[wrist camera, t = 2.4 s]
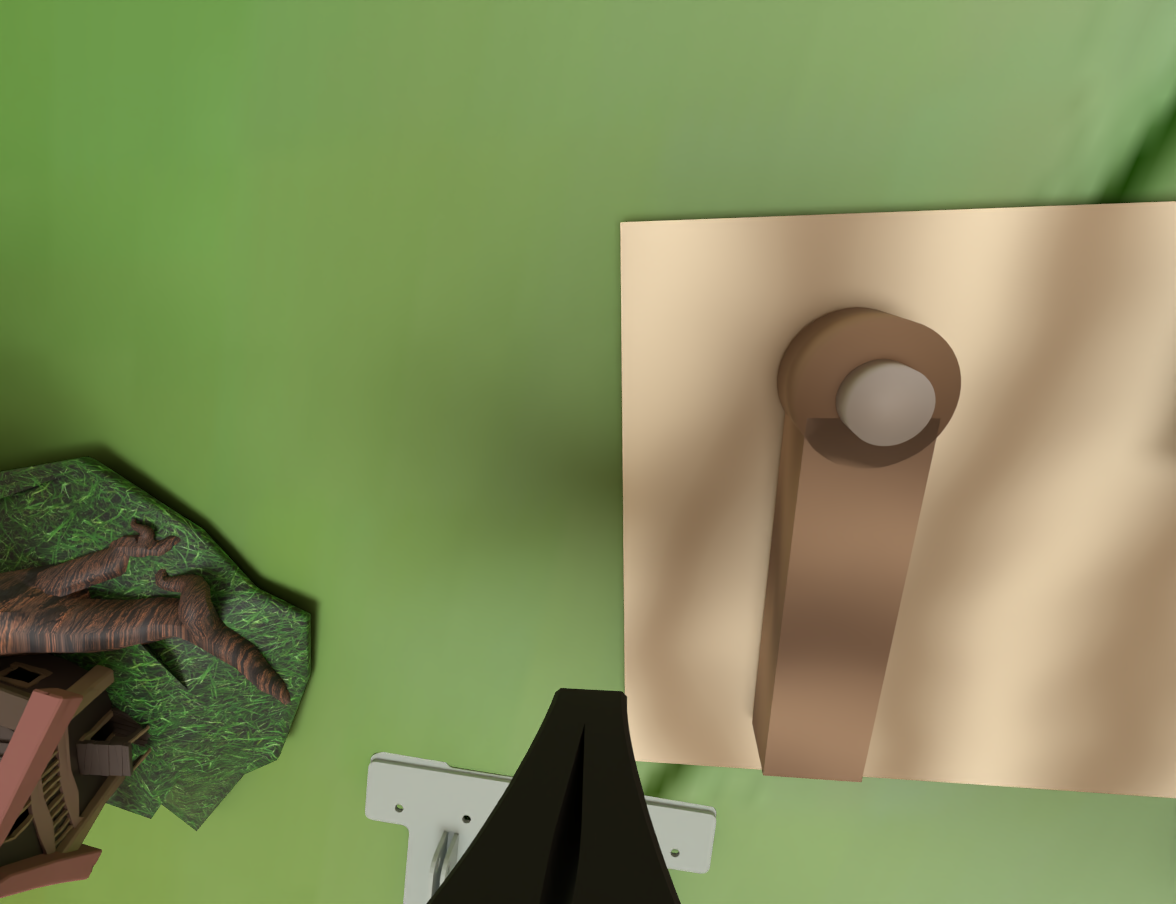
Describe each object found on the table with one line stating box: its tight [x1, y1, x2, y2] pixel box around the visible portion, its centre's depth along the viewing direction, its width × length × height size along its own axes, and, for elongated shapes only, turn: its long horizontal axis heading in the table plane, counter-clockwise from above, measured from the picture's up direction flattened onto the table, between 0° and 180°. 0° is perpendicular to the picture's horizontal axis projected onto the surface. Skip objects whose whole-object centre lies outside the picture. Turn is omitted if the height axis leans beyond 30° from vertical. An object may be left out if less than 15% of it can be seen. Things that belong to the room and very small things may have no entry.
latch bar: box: [752, 307, 961, 782], centre depth 15 cm, size 14×4×3 cm, turn 2°
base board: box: [620, 201, 1176, 798], centre depth 17 cm, size 20×19×1 cm
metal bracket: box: [365, 752, 716, 904], centre depth 25 cm, size 14×6×15 cm
